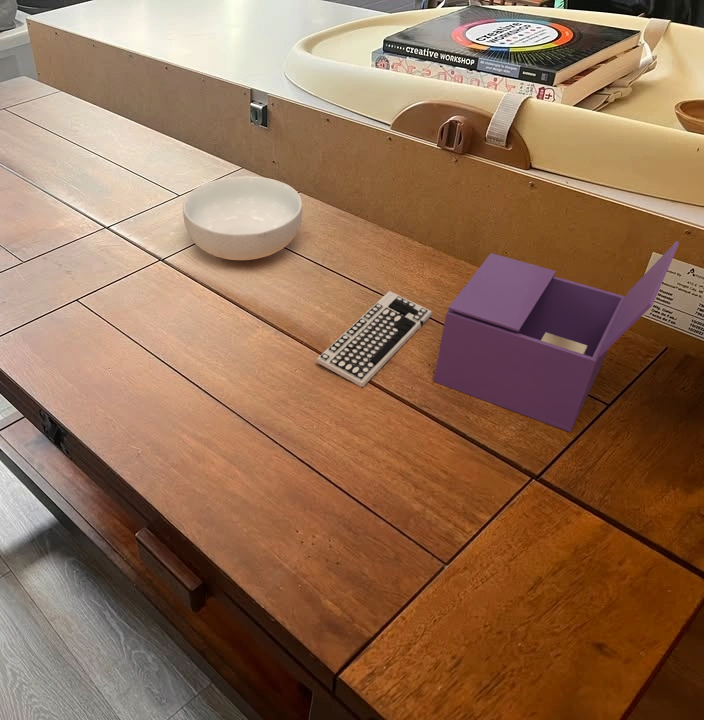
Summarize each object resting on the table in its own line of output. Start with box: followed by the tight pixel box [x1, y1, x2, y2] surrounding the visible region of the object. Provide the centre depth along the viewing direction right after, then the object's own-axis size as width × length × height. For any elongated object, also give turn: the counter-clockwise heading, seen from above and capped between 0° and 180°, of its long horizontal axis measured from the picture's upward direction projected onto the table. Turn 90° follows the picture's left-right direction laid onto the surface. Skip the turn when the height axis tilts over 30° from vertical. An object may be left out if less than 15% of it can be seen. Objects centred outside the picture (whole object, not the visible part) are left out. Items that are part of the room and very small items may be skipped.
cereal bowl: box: [182, 175, 303, 261], centre depth 107 cm, size 17×17×7 cm
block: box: [541, 332, 588, 355], centre depth 83 cm, size 4×4×4 cm
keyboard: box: [316, 290, 433, 389], centre depth 91 cm, size 17×6×2 cm, turn 142°
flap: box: [598, 240, 681, 357], centre depth 74 cm, size 7×13×1 cm
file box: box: [432, 252, 626, 433], centre depth 83 cm, size 15×13×10 cm
